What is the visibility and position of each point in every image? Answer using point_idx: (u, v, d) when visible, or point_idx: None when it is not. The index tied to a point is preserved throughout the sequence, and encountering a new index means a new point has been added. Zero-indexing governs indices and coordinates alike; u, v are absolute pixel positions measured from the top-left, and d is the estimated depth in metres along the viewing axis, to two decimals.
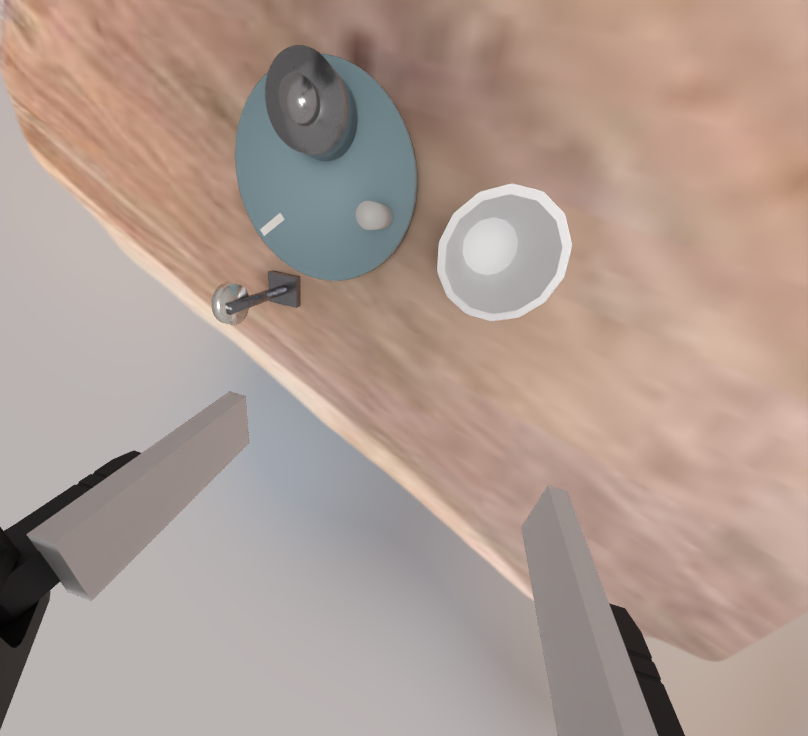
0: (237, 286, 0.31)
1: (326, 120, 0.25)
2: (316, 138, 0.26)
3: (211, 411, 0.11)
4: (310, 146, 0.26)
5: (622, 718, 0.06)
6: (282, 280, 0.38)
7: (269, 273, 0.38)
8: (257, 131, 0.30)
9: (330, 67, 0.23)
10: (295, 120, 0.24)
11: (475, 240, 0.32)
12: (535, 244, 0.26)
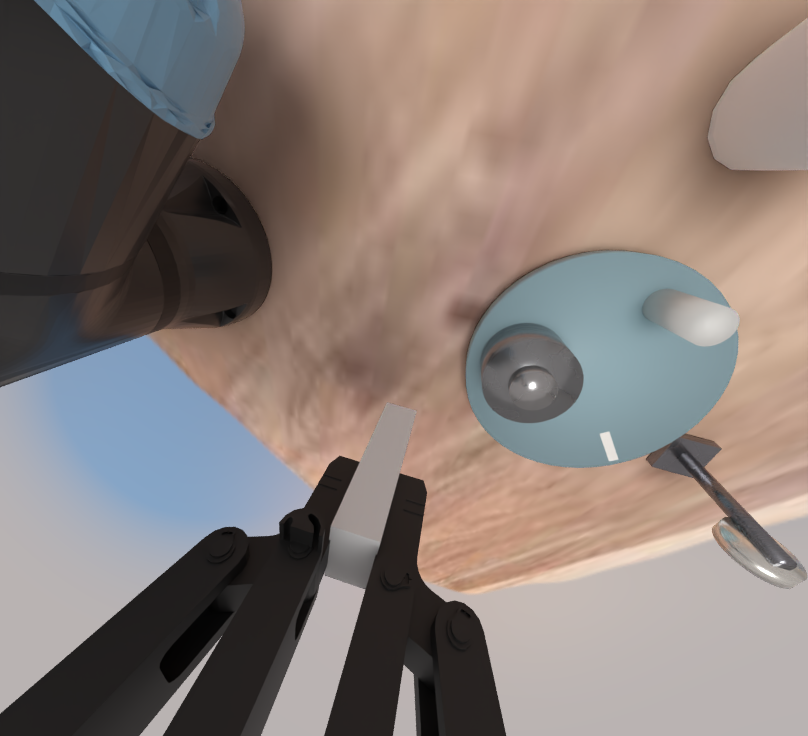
0: (726, 531, 0.21)
1: (556, 362, 0.20)
2: (570, 378, 0.21)
3: (386, 421, 0.13)
4: (575, 387, 0.21)
5: (364, 521, 0.09)
6: (672, 453, 0.28)
7: (654, 465, 0.29)
8: (513, 430, 0.28)
9: (509, 347, 0.21)
10: (553, 398, 0.21)
11: None
12: None
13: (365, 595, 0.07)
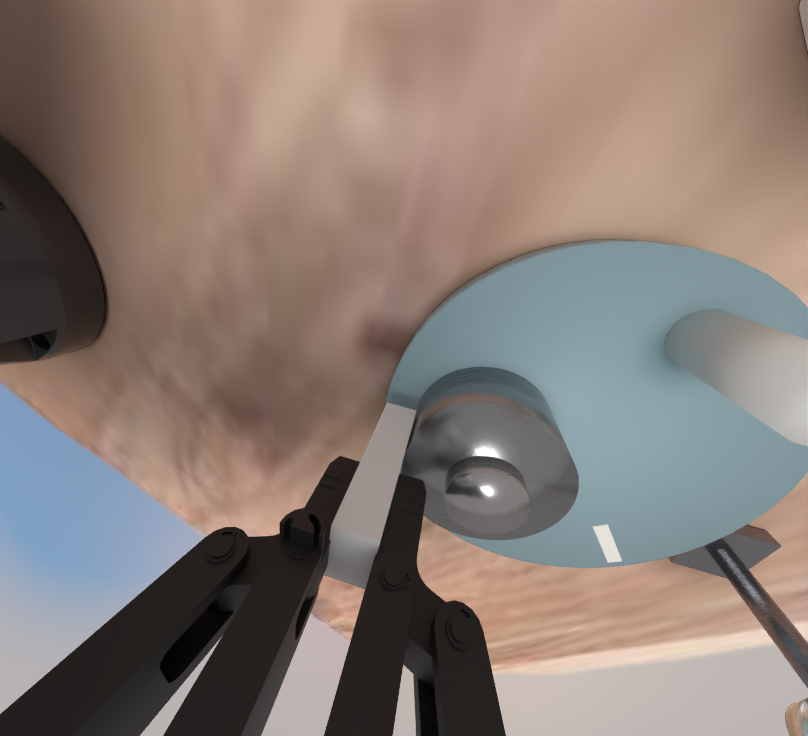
0: None
1: (527, 452, 0.11)
2: (553, 479, 0.11)
3: (386, 421, 0.13)
4: (564, 493, 0.11)
5: (364, 520, 0.09)
6: (703, 547, 0.19)
7: (675, 561, 0.20)
8: None
9: (439, 425, 0.11)
10: (522, 519, 0.11)
11: None
12: None
13: (365, 595, 0.07)
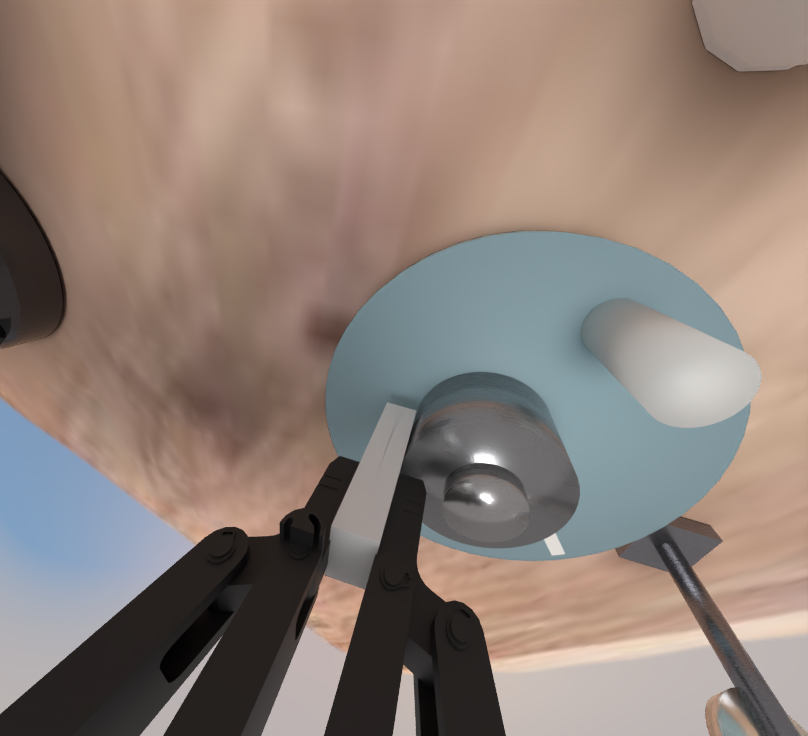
0: (730, 730, 0.12)
1: (527, 461, 0.11)
2: (554, 488, 0.11)
3: (386, 421, 0.13)
4: (565, 502, 0.11)
5: (364, 521, 0.09)
6: (648, 542, 0.19)
7: (622, 556, 0.20)
8: None
9: (439, 431, 0.11)
10: (522, 528, 0.11)
11: None
12: None
13: (365, 595, 0.07)
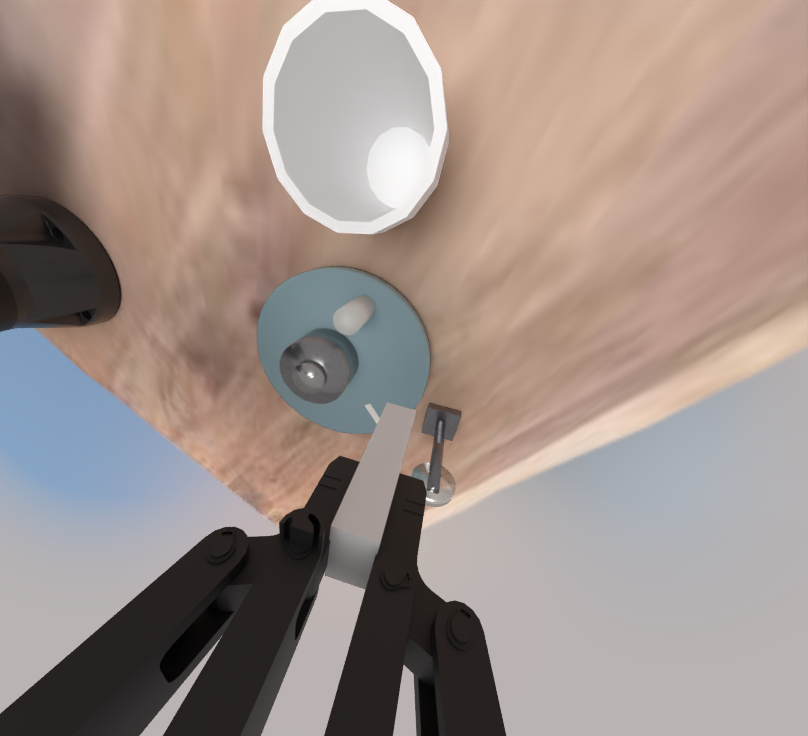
0: (415, 470, 0.29)
1: (322, 357, 0.28)
2: (334, 368, 0.28)
3: (386, 421, 0.13)
4: (340, 375, 0.28)
5: (364, 521, 0.09)
6: (431, 421, 0.36)
7: (423, 432, 0.37)
8: (308, 405, 0.36)
9: (289, 347, 0.28)
10: (321, 384, 0.28)
11: (391, 191, 0.26)
12: (371, 88, 0.18)
13: (365, 595, 0.07)
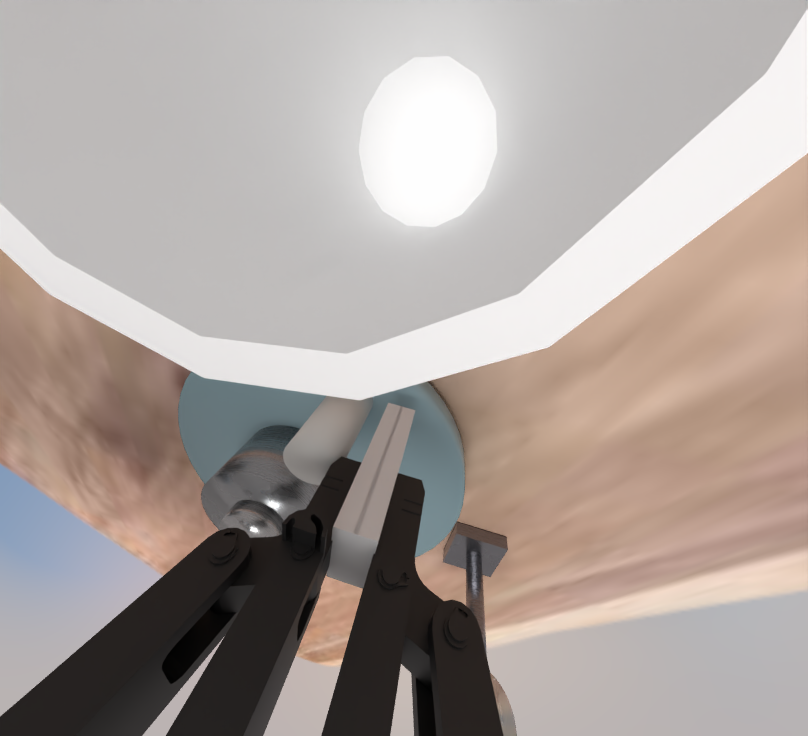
0: None
1: (273, 499, 0.15)
2: None
3: (388, 421, 0.13)
4: None
5: (362, 520, 0.09)
6: (458, 550, 0.23)
7: (445, 561, 0.24)
8: None
9: (214, 478, 0.15)
10: None
11: (407, 194, 0.13)
12: None
13: (362, 594, 0.07)
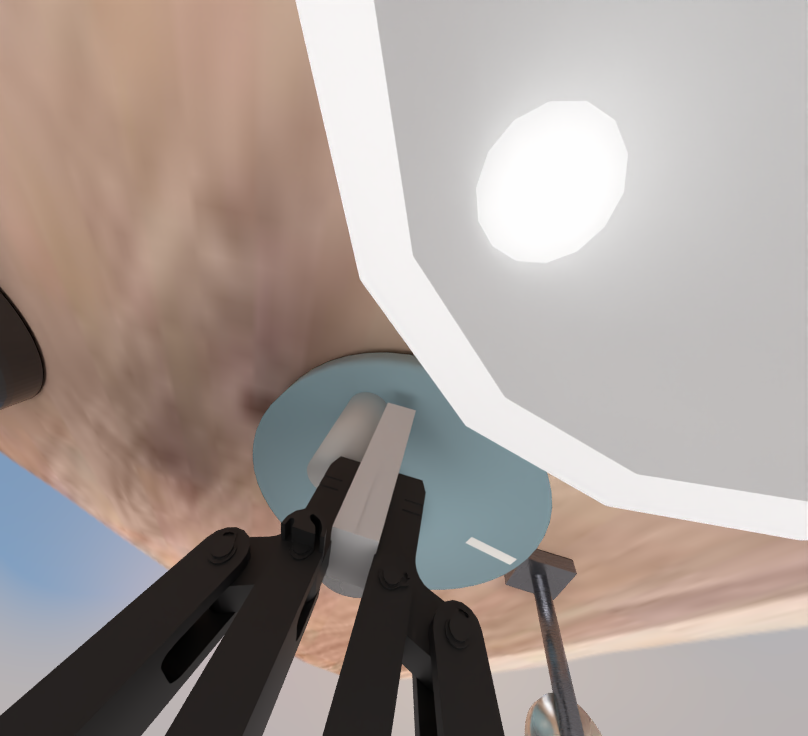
0: (534, 725, 0.16)
1: None
2: None
3: (387, 421, 0.13)
4: None
5: (363, 520, 0.09)
6: (524, 573, 0.23)
7: (508, 584, 0.24)
8: None
9: None
10: None
11: (522, 231, 0.13)
12: None
13: (363, 594, 0.07)
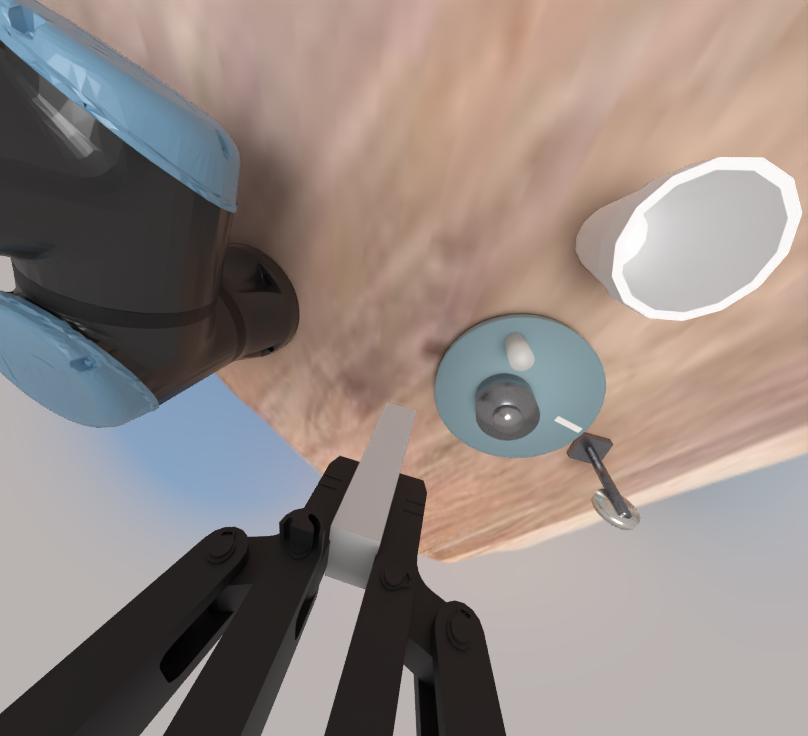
0: (597, 496, 0.33)
1: (509, 398, 0.32)
2: (524, 401, 0.32)
3: (386, 421, 0.13)
4: (532, 404, 0.32)
5: (364, 521, 0.09)
6: (581, 447, 0.40)
7: (570, 456, 0.41)
8: (503, 445, 0.40)
9: (479, 404, 0.33)
10: (521, 419, 0.32)
11: None
12: None
13: (365, 595, 0.07)
